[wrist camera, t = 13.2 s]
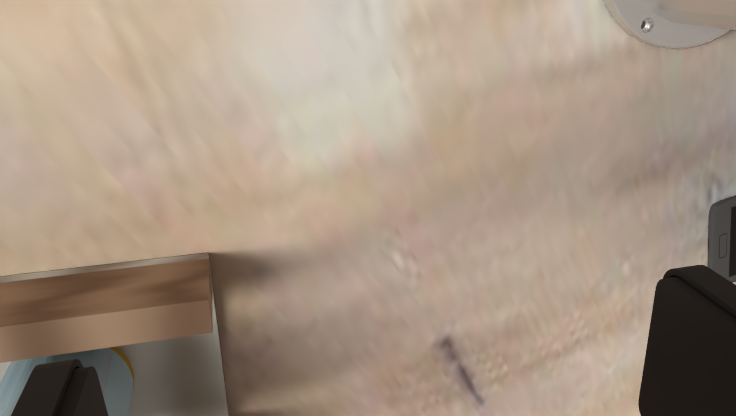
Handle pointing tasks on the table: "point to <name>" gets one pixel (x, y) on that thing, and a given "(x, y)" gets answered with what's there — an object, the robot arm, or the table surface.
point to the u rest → (126, 327)
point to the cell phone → (723, 238)
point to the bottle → (106, 361)
